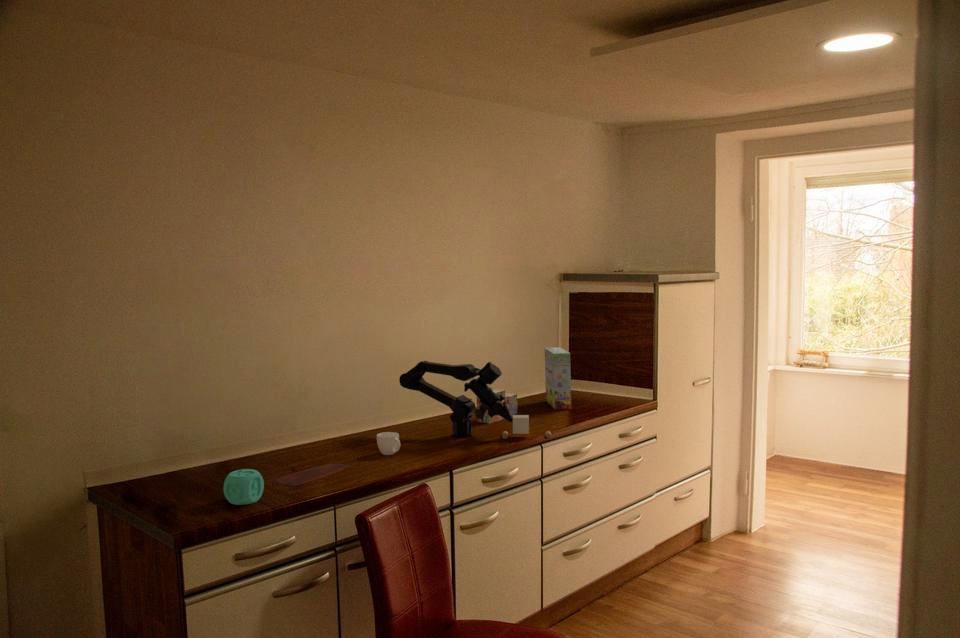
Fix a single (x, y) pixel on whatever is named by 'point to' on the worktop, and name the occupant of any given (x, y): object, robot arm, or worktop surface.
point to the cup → (388, 442)
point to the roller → (505, 435)
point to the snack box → (558, 378)
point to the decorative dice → (243, 486)
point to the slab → (520, 424)
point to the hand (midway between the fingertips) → (512, 421)
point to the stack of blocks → (509, 399)
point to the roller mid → (548, 435)
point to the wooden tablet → (310, 474)
